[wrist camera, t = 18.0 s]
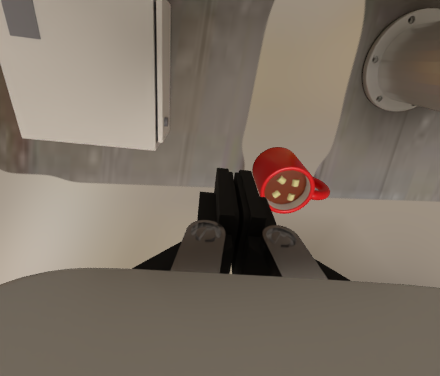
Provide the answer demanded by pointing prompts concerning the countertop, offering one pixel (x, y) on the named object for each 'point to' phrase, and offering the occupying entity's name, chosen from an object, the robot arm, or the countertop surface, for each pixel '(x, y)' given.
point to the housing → (81, 70)
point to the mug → (286, 181)
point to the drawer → (162, 66)
